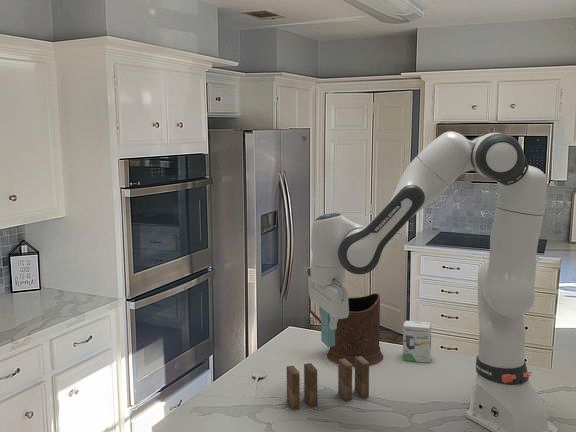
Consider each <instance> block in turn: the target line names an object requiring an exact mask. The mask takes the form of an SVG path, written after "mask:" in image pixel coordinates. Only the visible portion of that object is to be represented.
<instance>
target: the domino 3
mask: <svg viewBox="0 0 576 432" xmlns="http://www.w3.org/2000/svg"><path fill="white" fill-rule="evenodd" d="M329 322H330V314H329V313H328V312H326V311H325V310H324V309H323V308H321V323H320V324H321V329H320V333H321V334H320V337H321V339H320V340H321V342H322V343H323V344H324V345H325V346H326V347H327V348H330V347H332V346H335V330H331V329H330V328H329Z"/></svg>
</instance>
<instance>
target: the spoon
mask: <svg viewBox="0 0 576 432" xmlns="http://www.w3.org/2000/svg"><path fill="white" fill-rule="evenodd" d="M266 377H267V372H266V370H265V368H263V367H259V368H257V369H255V370H254V372H253V373H252V378H255V379H254V382H253V385H252V387H251V388H250V390H249V394H248V397H249V398H254V397H255V396H256V394H257V384H258V380H259V379H261V378H262V379H263V378H266Z"/></svg>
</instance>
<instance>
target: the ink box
mask: <svg viewBox="0 0 576 432" xmlns="http://www.w3.org/2000/svg"><path fill="white" fill-rule="evenodd" d="M431 355H432V323H430V322H426V321H413V320H405V321H404V322H403V325H402V360H403V361H405V362H418V363H428V364H429V363H431V358H432V357H431Z"/></svg>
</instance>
